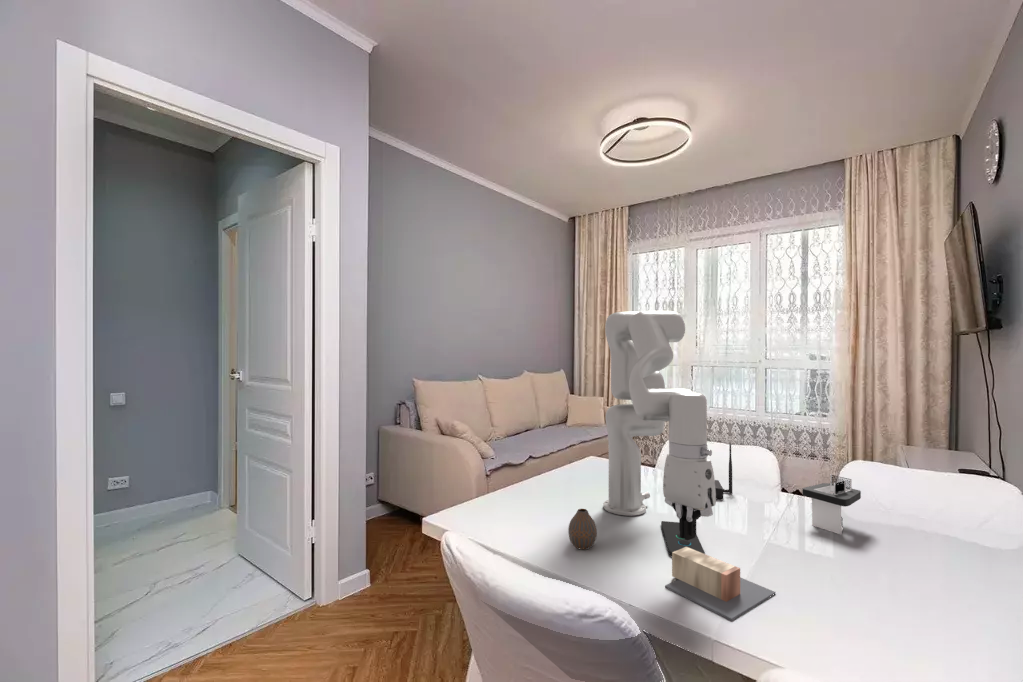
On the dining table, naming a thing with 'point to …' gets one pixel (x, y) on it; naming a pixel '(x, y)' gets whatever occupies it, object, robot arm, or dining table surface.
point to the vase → (582, 530)
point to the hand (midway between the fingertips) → (687, 537)
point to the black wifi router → (718, 486)
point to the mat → (730, 609)
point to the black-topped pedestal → (830, 502)
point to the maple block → (706, 573)
